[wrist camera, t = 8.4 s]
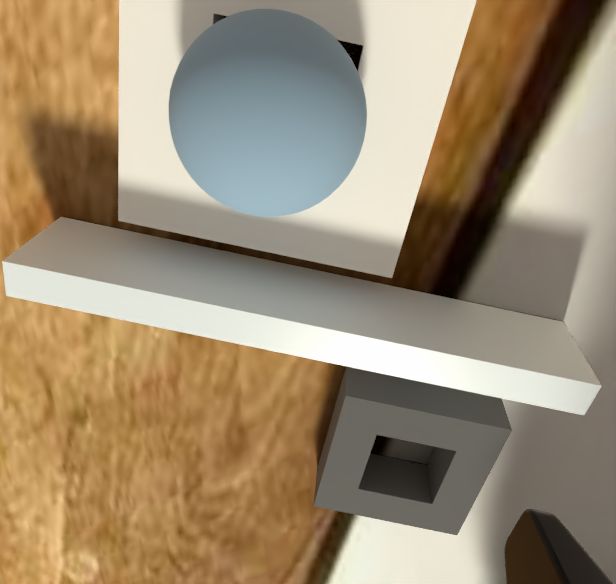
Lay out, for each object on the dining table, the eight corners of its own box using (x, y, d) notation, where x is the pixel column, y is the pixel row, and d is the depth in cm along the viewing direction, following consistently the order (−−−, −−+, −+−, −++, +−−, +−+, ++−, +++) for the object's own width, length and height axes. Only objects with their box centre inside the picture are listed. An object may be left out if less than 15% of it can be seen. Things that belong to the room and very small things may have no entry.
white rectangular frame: (481, -43, 14) (489, -45, 13) (390, 261, 18) (391, 278, 17) (138, -117, 14) (120, -126, 13) (132, 207, 18) (117, 220, 17)
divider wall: (564, 321, 19) (601, 385, 16) (550, 349, 20) (583, 415, 16) (61, 216, 19) (2, 261, 16) (62, 247, 19) (6, 295, 16)
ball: (385, 26, 15) (394, 42, 10) (345, 196, 17) (340, 267, 13) (206, -13, 15) (141, -12, 10) (192, 164, 17) (135, 224, 13)
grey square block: (499, 393, 21) (511, 430, 19) (450, 495, 24) (457, 535, 22) (347, 361, 21) (345, 395, 19) (317, 468, 24) (313, 505, 22)
